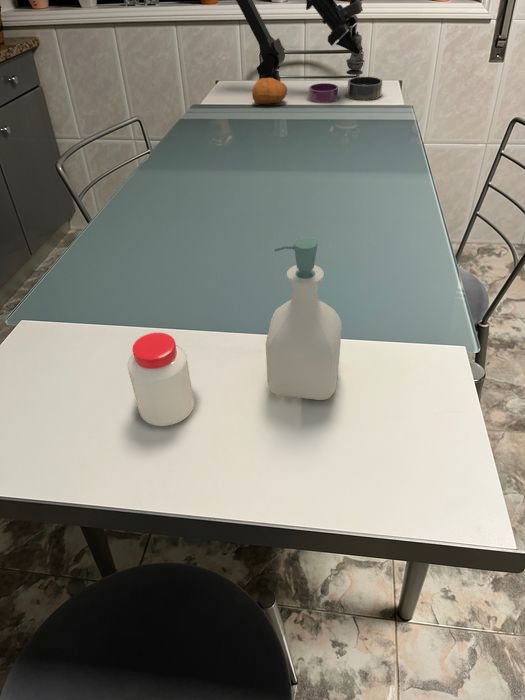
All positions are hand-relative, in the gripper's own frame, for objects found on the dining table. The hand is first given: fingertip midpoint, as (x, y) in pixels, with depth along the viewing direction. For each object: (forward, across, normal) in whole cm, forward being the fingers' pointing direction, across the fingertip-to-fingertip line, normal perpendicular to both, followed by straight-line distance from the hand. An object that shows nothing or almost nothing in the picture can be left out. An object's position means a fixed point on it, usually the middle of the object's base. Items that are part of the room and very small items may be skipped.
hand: (360, 51), depth 177 cm
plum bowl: (+2, -4, +17) cm, 18 cm away
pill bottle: (+14, -149, +5) cm, 150 cm away
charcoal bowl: (+11, +2, +8) cm, 14 cm away
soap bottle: (+26, -138, -7) cm, 141 cm away
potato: (-8, -13, +28) cm, 32 cm away
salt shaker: (+4, 0, +6) cm, 7 cm away
